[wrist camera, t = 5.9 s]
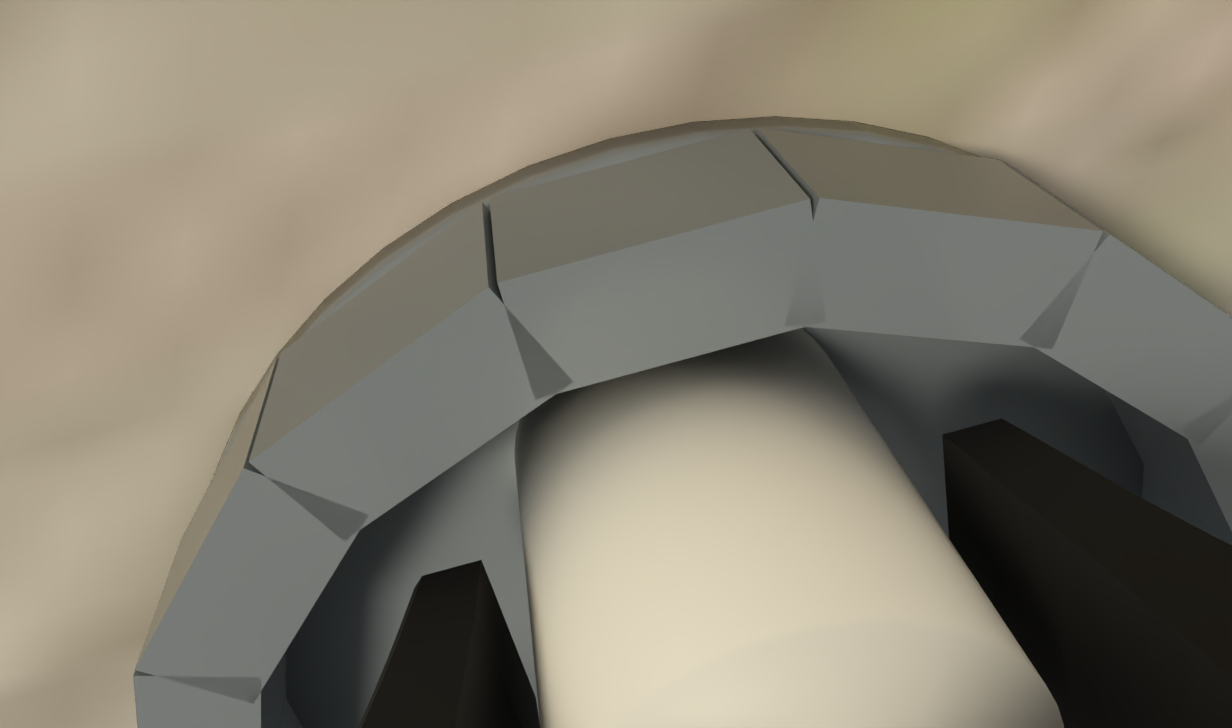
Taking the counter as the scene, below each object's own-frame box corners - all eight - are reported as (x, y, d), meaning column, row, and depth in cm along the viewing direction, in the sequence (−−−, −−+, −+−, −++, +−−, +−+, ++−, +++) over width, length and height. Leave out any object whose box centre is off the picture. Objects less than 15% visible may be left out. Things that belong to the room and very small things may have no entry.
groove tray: (1379, 420, 14) (1565, 546, 12) (802, 962, 19) (852, 1128, 17) (539, -158, 9) (570, -138, 7) (45, 783, 14) (-36, 986, 12)
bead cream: (911, 384, 12) (1169, 720, 8) (722, 612, 13) (850, 1003, 9) (632, 232, 10) (758, 544, 6) (452, 508, 12) (453, 917, 8)
